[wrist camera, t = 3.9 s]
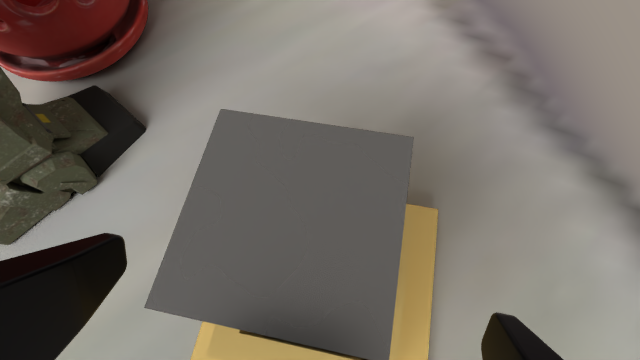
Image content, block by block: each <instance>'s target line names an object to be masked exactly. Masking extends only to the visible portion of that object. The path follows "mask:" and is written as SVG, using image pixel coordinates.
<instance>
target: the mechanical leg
mask: <svg viewBox="0 0 640 360" xmlns="http://www.w3.org/2000/svg"><path fill="white" fill-rule="evenodd" d="M145 130H146V128H145V127H144V125H142V124H141V123H140V122H139V121H138V120H137V119H136V118H135V117H134V116H133V115H132V114H131V113H129V112H128V111H127V110H126V109H125V108H124V107H123V106H122V105H121V104H120V103H119V102H117V101H116V100H115V99H114V98H113V97H112V96H111V95H110V94H108V93H107V92H105V91H104V90H102V89H100V88H99V87H97V86H91V87H89V88H87V89H84V90H82V91H80V92H77V93H75V94H73V95H70V96H68V97H64V98H60V99H57V100H54V101H51V102H47V103H44V104H41V105H31V104H25V103H22V102H21V97H20V93H19V91H18V90H17V89H16V87H15V86H14V85H13V83H12V82H11V81H10V79H9V78H8V77H7V75H6V74H5V73H4V72H3V70H2V69H1V68H0V244H4V245H9V244H11V243H12V242H13V241H15V240H16V239H17V238H18V237H20V236H21V235H22V234H23V233H25V232H26V231H27V230H28V229H30V228H31V227H32V226H33V225H35V224H36V223H37V222H38V221H40V220H41V219H42V218H43V217H45V216H46V215H47V214H48V213H50V212H51V211H52V210H55V211H56V210H57V209H58V208H60V207H61V206H62V205H63V204H64V203H66V202H67V201H68V200H69V198H70V196H71V195H70V194H71V193H73V192H74V191H76V192H78V193H80V194H82V195H83V194H84V193H85V192H87V191H88V190H89V189H91V188H92V187H93V186H95V185H96V184H98V183H97V179H96V176H95V174H94V173H96V174H97V176H98V177H99V176H100V175H101V174H102V173H103V172H104V171H105V170H106V169H107V168H108V167H109V166H110V165H111V164H112V163H113V162H114V161H115V160H116V159H117V158H118V157H119V156H120V155H121V154H122V153H123V152H124V151H126V150H127V149H128V148H129V147H130V146H131V145H132V144H133V143H134V142H135V141H136V140H137V139H138V138H139V137H140V136H141V135H142V134H143V133H144V132H145Z"/></svg>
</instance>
